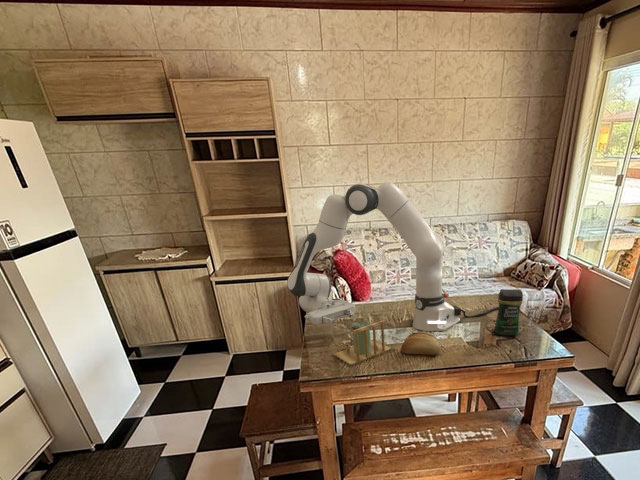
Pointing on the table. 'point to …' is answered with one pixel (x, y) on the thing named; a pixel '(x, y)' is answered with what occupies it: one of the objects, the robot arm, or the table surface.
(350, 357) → the dish rack
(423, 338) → the bread roll
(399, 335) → the table surface
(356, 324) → the tumbler
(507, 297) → the coffee jar
